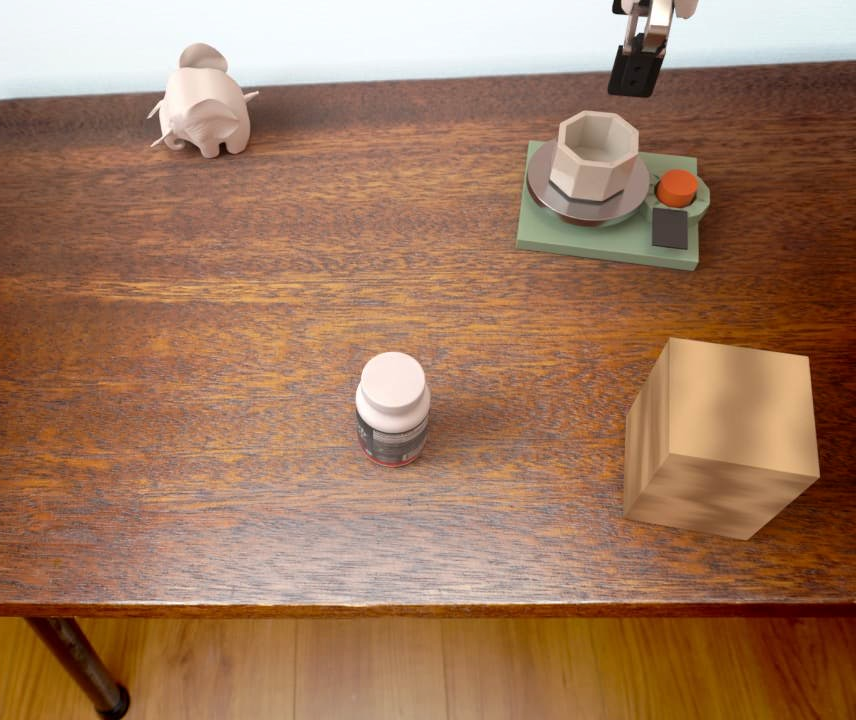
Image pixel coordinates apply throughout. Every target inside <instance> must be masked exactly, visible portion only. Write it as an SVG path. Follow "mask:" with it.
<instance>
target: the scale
mask: <svg viewBox="0 0 856 720" xmlns="http://www.w3.org/2000/svg"><path fill="white" fill-rule="evenodd" d="M546 142H547V141H542V140H541V141H540V140H533V139H532V140H531V139H530V140H528V146H527V150H526V157H525V158H526V159H525V167H524V176H523V182H522V191H521V192H522V193H521V199H520V208H519V213H518V214H519V215H518V224H517V230H516V231H517V232H516V238H515V250H516V249H517V250H527V251H532V252H539V253H540V252H541V253H548V254H555V255H564V256H571V257H579V258H586V259H596V260H603V261H611V262H618V263H627V264H635V265H643V266H651V267H657V268H665V269H673V270H681V271H690V272H694V271H695V270H696V268H697V266H698V264H699V262H700V255H699V254H700V253H699V251H700V250H699V222H700V221H701V220H702V218H703V217H704V216H705V215H706V212H707V211H708V208H709V206H710V205H711V190H710V188H709V187H708V186H707V184H706V183H705V182H704V180H703V179H702V178H701V177H700V176H698V158H697V157H692V156H683V155H673V154H663V153H656V152H655V153H654V152H645V151H638V155H639V157H640V158H641V159H642V160H643V162H644V163H645V165H646V167H647V170H648V173H649V178H650V185H649V190H648V193H647V196H646V198H645V201H644V202H643V204H642V206H641V207H640V209H639V210H638V211H637V212H636V213H635V214H634V215H632V216H631V217H629V218H628V219H626V220H624V221H622V222H619V223H617V224H614V225H609V226H604V227H581V226H575V225H571V224H568V223H565V222H562V221H560V220H557V219H555V218H553V217H552V216H550V215H549V214H547V213H546V212H544V211H543V210H542V209H541V208H540V207H539V206H538V205H537V204H536V203H535V202H534V200H533V199H532V197H531V195H530V193H529V191H528V188H527V183H526V174H527V170H528V165H529V162H530V159H531V157H532V156H533V154H534V153H535V152H536V151H537V149H538V148H539V147H541V146H542V145H543V144H545V143H546ZM674 169H680V170H685V171H687V172H690V173H691V174H693V175H694V176H695V177H696V179H697V181H698V188H697V190H696V193H695V195H694V197H693V199H692V201H691V203H690V204H689V205H687V206H685V207H682V208H672V207H668V206H666V205H664V204H662V203H661V202H660V201H659V200H658V198H657V195H656V191H657V188H658V186H659V183H660V181H661V178H662V176H663V175H664V174H665V173H666V172H668V171H670V170H674ZM653 207H655V208H664V209H673V210H681V211H688V250H682V249H674V248H666V247H658V246H652V208H653Z"/></svg>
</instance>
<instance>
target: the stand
mask: <svg viewBox="0 0 856 720" xmlns="http://www.w3.org/2000/svg"><path fill="white" fill-rule="evenodd" d="M814 410H815V409H814V400H813V389H812V379H811V369H810V359H809V356H806V355H799V354H793V353H785V352H777V351H771V350H764V349H758V348H757V349H756V348H750V347H743V346H736V345H729V344H728V345H727V344H722V343H715V342H707V341H701V340H693V339H687V338H678V337H671V336H670V337H669V338H668V340H667V342H666V344H665V345H664V347H663V349H662V351H661V353H660V354H659V356H658V357H657V360H656V362H655V364H654V365H653V367H652V368H651V371H650V372H649V374H648V376H647V378H646V380H645V381H644V383H643V385H642V387H641V388H640V390H639V392H638V394H637V396H636V398H635V400H634V401H633V403H632V404H631V407H630V408H629V410H628V412H627V413H626V415H625V431H624V432H625V434H624V435H625V436H624V437H625V438H624V463H623V491H622V519H625V520H630V521H634V522H635V521H636V522H639V523H645V524H652V525H658V526H663V527H668V528H674V529H679V530H685V531H691V532H697V533H703V534H708V535H714V536H720V537H723V538H724V537H725V538H729V539H736V540H742V541H749V539H751V538H752V537H753V536H754V535H756V533H757V532H758V531H760V530H761V529H762V528H764V527H765V525H767V524H768V523H769V522H770V521H771V520H773V519H774V518H775V517H776V516H777V515H778V514H779V513H780V512H782V511H783V510H784V509H785V508H786V507H788V505H790V504H791V503H792V502H793V501H795V500H796V499H797V498H798V497H799V496H800V495H802V494H803V493H804V492H805V491H806V490H807V489H808V488H809V487H811V486H812V485H813V484H814V483H815V482H817V481H818V479H820V478H821V472H820V463H819V452H818V450H819V449H818V442H817V441H818V440H817V430H816V421H815V419H816V418H815V411H814Z"/></svg>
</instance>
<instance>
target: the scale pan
mask: <svg viewBox="0 0 856 720" xmlns="http://www.w3.org/2000/svg"><path fill="white" fill-rule="evenodd" d="M556 138H557V136H555V137H554V138H552V139H549V140H548V141H545V142H546V143H545V144H543V145H542V146H541V147H539V148H538V149H537V151H536V152H535V153H534V154H533V156H532V157H531V159H530V162H529V165H528V170H527V174H526V183H527V188H528V191H529V193H530V195H531V197H532V199H533V200H534V202H535V203H536V204H537V205H538V206H539V207H540V208H541V209H542V210H543V211H544V212H546V213H547V214H549V215H550V216H552V217H553V218H555V219H557V220H560V221H562V222H565V223H568V224H571V225H575V226H581V227H604V226H609V225H614V224H617V223H619V222H622V221H624V220H626V219H628V218H629V217H631V216H632V215H634V214H635V213H636V212H637V211H638V210H639V209H640V207H641V206H642V204H643V202H644V201H645V198H646V196H647V193H648V190H649V185H650V178H649V173H648V170H647V167H646V165H645V163H644V162H643V160H642V159H641V158H640V157H639V155H638V156H637V158H636V161H635V164H634V167H633V169H632V172H631V175H630V177H629V180H628V183H627V186H626V187H625V188H624V189H622V190H621V191H619V192H617V193H615V194H614V195H612V196H610V197H609V198H607V199H605V200H603V201H596V200H587V199H579V198H571V197H569V196H568V195H567V194H566V193H565V192H564V191H562V190H561V189H560V188H559V187H558V186H557V185H556V184H555V183H553V182H552V181H551V180H550V169H551V159H552V154H553V150H554V146H555V142H556ZM652 246H658V247H666V248H674V249H682V250H688V211H681V210H673V209H664V208H655V207H653V208H652Z"/></svg>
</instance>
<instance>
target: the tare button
mask: <svg viewBox="0 0 856 720" xmlns="http://www.w3.org/2000/svg"><path fill="white" fill-rule="evenodd" d="M697 188H698V181H697V179H696V177H695V176H694V175H693V174H691V173H690V172H687V171H685V170H680V169H674V170H670V171H668V172H666V173H665V174H664V175H663V176H662V178H661V181H660V183H659V186H658V188H657V191H656V195H657V198H658V200H659V201H660V202H661V203H662V204H664V205H666V206H668V207H672V208H682V207H685V206H687V205H689V204H690V203H691V201H692V199H693V197H694V195H695V193H696V190H697Z"/></svg>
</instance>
